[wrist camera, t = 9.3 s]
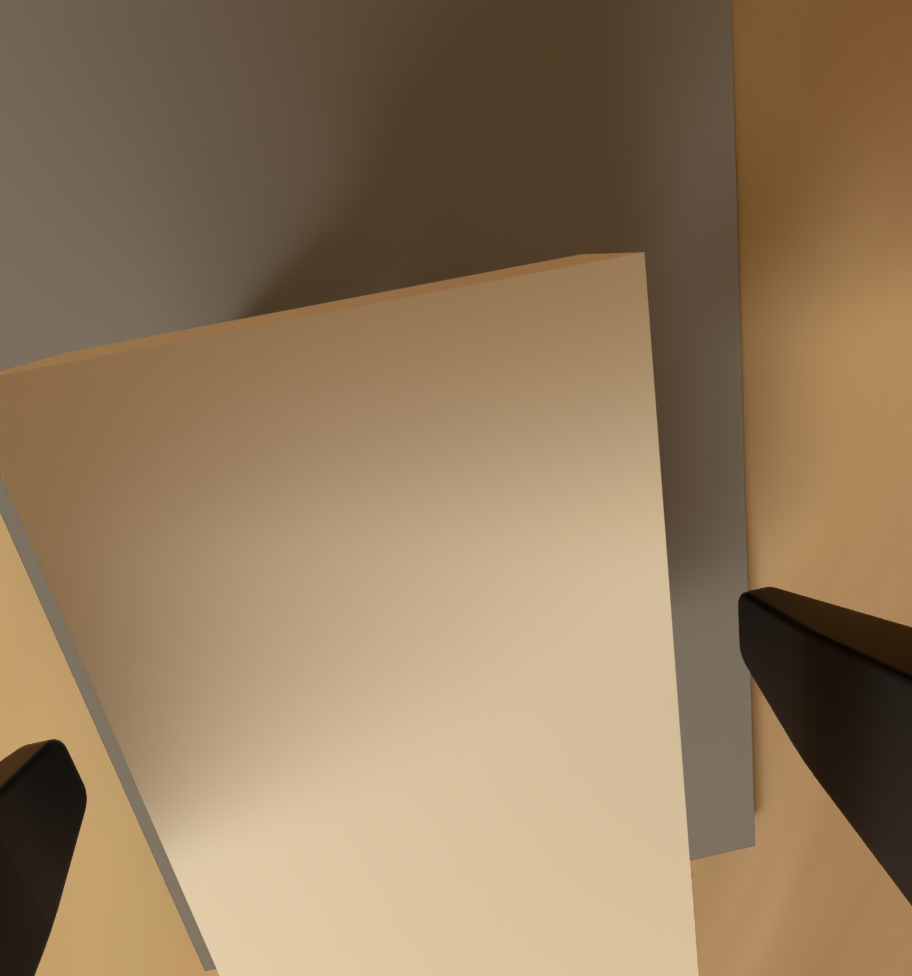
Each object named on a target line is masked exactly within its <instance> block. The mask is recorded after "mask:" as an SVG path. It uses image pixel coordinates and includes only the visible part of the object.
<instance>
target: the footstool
mask: <svg viewBox="0 0 912 976" xmlns="http://www.w3.org/2000/svg"><path fill="white" fill-rule="evenodd" d="M0 474H1V477H2V479H3V481H4V484H5V486H6V488H7V491H8V493H9V495H10V497H11V500H12V502H13V504H14V507H15V509H16V511H17V513H18V516H19V518H20V520H21V523H22V525H23V527H24V529H25V532H26V534H27V536H28V539H29V541H30V543H31V545H32V548H33V550H34V552H35V555H36V557H37V559H38V561H39V564H40V566H41V568H42V571H43V573H44V575H45V577H46V580H47V582H48V584H49V587H50V589H51V591H52V593H53V596H54V598H55V600H56V603H57V605H58V607H59V610H60V612H61V614H62V616H63V619H64V621H65V623H66V626H67V628H68V630H69V632H70V635H71V637H72V639H73V642H74V644H75V646H76V648H77V651H78V653H79V655H80V658H81V660H82V662H83V664H84V667H85V669H86V671H87V674H88V676H89V678H90V680H91V683H92V685H93V687H94V690H95V692H96V694H97V696H98V699H99V701H100V703H101V706H102V708H103V710H104V712H105V715H106V717H107V719H108V722H109V724H110V726H111V728H112V731H113V733H114V735H115V738H116V740H117V742H118V745H119V747H120V749H121V751H122V754H123V756H124V758H125V761H126V763H127V765H128V767H129V770H130V772H131V774H132V777H133V779H134V781H135V783H136V786H137V788H138V790H139V793H140V795H141V797H142V799H143V802H144V804H145V806H146V809H147V811H148V813H149V815H150V818H151V820H152V822H153V825H154V827H155V829H156V831H157V834H158V836H159V838H160V841H161V843H162V845H163V847H164V850H165V852H166V854H167V857H168V859H169V861H170V864H171V866H172V868H173V870H174V873H175V875H176V877H177V880H178V882H179V884H180V886H181V889H182V891H183V893H184V896H185V898H186V900H187V902H188V905H189V907H190V909H191V912H192V914H193V916H194V918H195V921H196V923H197V925H198V928H199V930H200V932H201V934H202V937H203V939H204V941H205V944H206V946H207V948H208V950H209V953H210V955H211V957H212V960H213V962H214V964H215V966H216V969H217V971H218V973H219V976H698V964H697V951H696V937H695V924H694V911H693V897H692V884H691V870H690V857H689V844H688V830H687V817H686V803H685V790H684V777H683V763H682V750H681V736H680V723H679V709H678V696H677V683H676V669H675V656H674V642H673V629H672V616H671V602H670V589H669V575H668V562H667V548H666V535H665V522H664V508H663V495H662V481H661V468H660V455H659V441H658V428H657V414H656V401H655V388H654V374H653V361H652V347H651V334H650V320H649V307H648V294H647V280H646V267H645V253H644V252H637V253H606V254H580V255H575V256H569V257H564V258H559V259H554V260H548V261H543V262H538V263H533V264H527V265H522V266H517V267H512V268H506V269H501V270H496V271H491V272H485V273H480V274H475V275H470V276H464V277H459V278H454V279H449V280H443V281H438V282H433V283H427V284H422V285H417V286H412V287H406V288H401V289H396V290H391V291H385V292H380V293H375V294H370V295H364V296H359V297H354V298H349V299H343V300H338V301H333V302H328V303H322V304H317V305H312V306H307V307H301V308H296V309H291V310H286V311H280V312H275V313H270V314H265V315H259V316H254V317H249V318H244V319H238V320H233V321H228V322H223V323H217V324H212V325H207V326H202V327H196V328H191V329H186V330H180V331H175V332H170V333H165V334H159V335H154V336H149V337H144V338H138V339H133V340H128V341H123V342H117V343H112V344H107V345H102V346H96V347H91V348H86V349H81V350H75V351H70V352H66V353H62V354H59V355H55V356H52V357H48V358H45V359H41V360H38V361H34V362H31V363H27V364H24V365H20V366H17V367H14V368H10V369H7V370H3V371H0Z"/></svg>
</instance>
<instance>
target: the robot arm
mask: <svg viewBox="0 0 912 976" xmlns="http://www.w3.org/2000/svg"><path fill="white" fill-rule="evenodd" d="M738 622H739V646H740V652H741V655H742V658H743V660H744V663H745V665H746V666H747V668H748V670H749V671H750V673H751V675H752V676H753V678H754V680H755V681H756V683H757V685H758V686H759V688H760V690H761V691H762V693H763V695H764V697H765V698H766V700H767V702H768V703H769V705H770V707H771V708H772V710H773V712H774V713H775V715H776V717H777V718H778V720H779V722H780V723H781V725H782V727H783V728H784V730H785V732H786V733H787V735H788V737H789V738H790V740H791V742H792V743H793V745H794V747H795V748H796V750H797V751H798V753H799V754H800V756H801V758H802V759H803V761H804V762H805V764H806V765H807V766H808V768H809V769H810V771H811V772H812V773H813V775H814V776H815V778H816V779H817V780H818V782H819V783H820V784H821V786H822V787H823V788H824V790H825V791H826V792H827V794H828V795H829V796H830V798H831V799H832V800H833V802H834V803H835V804H836V806H837V807H838V808H839V810H840V811H841V812H842V814H843V815H844V816H845V818H846V819H847V820H848V822H849V823H850V824H851V826H852V827H853V828H854V830H855V831H856V832H857V834H858V835H859V836H860V838H861V839H862V840H863V842H864V843H865V844H866V846H867V847H868V848H869V849H870V851H871V852H872V853H873V855H874V856H875V857H876V859H877V860H878V861H879V863H880V864H881V865H882V867H883V868H884V869H885V871H886V872H887V873H888V875H889V876H890V877H891V879H892V880H893V881H894V883H895V884H896V885H897V887H898V888H899V889H900V891H901V892H902V893H903V895H904V896H905V897H906V899H907V900H908V901H909V903H910V904H911V905H912V627H909V626H905V625H902V624H899V623H895V622H892V621H888V620H885V619H881V618H878V617H874V616H871V615H867V614H864V613H861V612H857V611H854V610H850V609H847V608H843V607H840V606H836V605H833V604H830V603H826V602H823V601H819V600H816V599H812V598H809V597H805V596H802V595H798V594H795V593H792V592H788V591H785V590H781V589H778V588H774V587H765V588H760V589H756V590H751V591H747V592H744V593H742V594H741V596H740V597H739V600H738ZM86 802H87V795H86V789H85V786H84V784H83V782H82V780H81V777H80V775H79V773H78V771H77V769H76V767H75V765H74V763H73V760H72V758H71V756H70V754H69V752H68V750H67V748H66V746H65V745H64V744H63V743H62V742H61V741H59V740H55V739H52V740H47V741H42V742H38V743H33V744H28V745H25V746H23V747H21V748H19V749H18V750H16V751H15V752H13V753H12V754H10V755H9V756H7V757H6V758H4V759H3V760H2V761H0V976H35V973H36V971H37V968H38V965H39V963H40V960H41V957H42V955H43V952H44V949H45V947H46V944H47V941H48V938H49V935H50V932H51V930H52V926H53V923H54V920H55V917H56V913H57V910H58V907H59V903H60V900H61V896H62V892H63V889H64V885H65V882H66V878H67V874H68V871H69V867H70V863H71V860H72V856H73V853H74V849H75V845H76V842H77V838H78V835H79V831H80V827H81V824H82V820H83V817H84V813H85V809H86Z"/></svg>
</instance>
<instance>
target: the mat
mask: <svg viewBox="0 0 912 976" xmlns="http://www.w3.org/2000/svg"><path fill="white" fill-rule="evenodd" d="M637 252H644V253H645V267H646V280H647V294H648V307H649V320H650V334H651V347H652V361H653V374H654V388H655V401H656V414H657V428H658V441H659V455H660V468H661V481H662V495H663V508H664V522H665V535H666V548H667V562H668V575H669V589H670V602H671V616H672V629H673V642H674V656H675V669H676V683H677V696H678V709H679V723H680V736H681V750H682V763H683V777H684V790H685V803H686V817H687V830H688V844H689V857H690V860H695V859H699V858H704V857H708V856H712V855H717V854H721V853H725V852H730V851H734V850H739V849H743V848H747V847H752V846H755V824H754V788H753V753H752V718H751V683H750V671H749V670H748V668H747V666H746V665H745V663H744V660H743V658H742V655H741V652H740V646H739V622H738V600H739V597H740V596H741V594H742V593H744V592H747V591H748V577H747V541H746V506H745V471H744V435H743V400H742V365H741V330H740V294H739V259H738V224H737V188H736V153H735V118H734V83H733V47H732V12H731V0H0V371H3V370H7V369H10V368H14V367H17V366H20V365H24V364H27V363H31V362H34V361H38V360H41V359H45V358H48V357H52V356H55V355H59V354H62V353H66V352H70V351H75V350H81V349H86V348H91V347H96V346H102V345H107V344H112V343H117V342H123V341H128V340H133V339H138V338H144V337H149V336H154V335H159V334H165V333H170V332H175V331H180V330H186V329H191V328H196V327H202V326H207V325H212V324H217V323H223V322H228V321H233V320H238V319H244V318H249V317H254V316H259V315H265V314H270V313H275V312H280V311H286V310H291V309H296V308H301V307H307V306H312V305H317V304H322V303H328V302H333V301H338V300H343V299H349V298H354V297H359V296H364V295H370V294H375V293H380V292H385V291H391V290H396V289H401V288H406V287H412V286H417V285H422V284H427V283H433V282H438V281H443V280H449V279H454V278H459V277H464V276H470V275H475V274H480V273H485V272H491V271H496V270H501V269H506V268H512V267H517V266H522V265H527V264H533V263H538V262H543V261H548V260H554V259H559V258H564V257H569V256H575V255H580V254H606V253H637ZM0 513H1V515H2V517H3V520H4V522H5V524H6V526H7V529H8V531H9V533H10V535H11V538H12V540H13V542H14V544H15V547H16V549H17V551H18V553H19V556H20V558H21V560H22V562H23V565H24V567H25V569H26V571H27V574H28V576H29V578H30V580H31V583H32V585H33V587H34V589H35V591H36V594H37V596H38V598H39V600H40V603H41V605H42V607H43V609H44V612H45V614H46V616H47V618H48V621H49V623H50V625H51V627H52V630H53V632H54V634H55V636H56V639H57V641H58V643H59V645H60V648H61V650H62V652H63V654H64V656H65V659H66V661H67V663H68V665H69V668H70V670H71V672H72V674H73V677H74V679H75V681H76V683H77V686H78V688H79V690H80V692H81V695H82V697H83V699H84V701H85V704H86V706H87V708H88V710H89V713H90V715H91V717H92V719H93V722H94V724H95V726H96V728H97V730H98V733H99V735H100V737H101V739H102V742H103V744H104V746H105V748H106V751H107V753H108V755H109V757H110V760H111V762H112V764H113V766H114V769H115V771H116V773H117V775H118V778H119V780H120V782H121V784H122V787H123V789H124V791H125V793H126V795H127V798H128V800H129V802H130V804H131V807H132V809H133V811H134V813H135V816H136V818H137V820H138V822H139V825H140V827H141V829H142V831H143V834H144V836H145V838H146V840H147V843H148V845H149V847H150V849H151V852H152V854H153V856H154V858H155V861H156V863H157V865H158V867H159V869H160V872H161V874H162V876H163V878H164V881H165V883H166V885H167V887H168V890H169V892H170V894H171V896H172V899H173V901H174V903H175V905H176V908H177V910H178V912H179V914H180V917H181V919H182V921H183V923H184V926H185V928H186V930H187V932H188V934H189V937H190V939H191V941H192V943H193V946H194V948H195V950H196V952H197V955H198V957H199V959H200V961H201V964H202V966H203V968H204V970H205V971H208V970H213V969H216V966H215V964H214V962H213V960H212V957H211V955H210V953H209V950H208V948H207V946H206V944H205V941H204V939H203V937H202V934H201V932H200V930H199V928H198V925H197V923H196V921H195V918H194V916H193V914H192V912H191V909H190V907H189V905H188V902H187V900H186V898H185V896H184V893H183V891H182V889H181V886H180V884H179V882H178V880H177V877H176V875H175V873H174V870H173V868H172V866H171V864H170V861H169V859H168V857H167V854H166V852H165V850H164V847H163V845H162V843H161V841H160V838H159V836H158V834H157V831H156V829H155V827H154V825H153V822H152V820H151V818H150V815H149V813H148V811H147V809H146V806H145V804H144V802H143V799H142V797H141V795H140V793H139V790H138V788H137V786H136V783H135V781H134V779H133V777H132V774H131V772H130V770H129V767H128V765H127V763H126V761H125V758H124V756H123V754H122V751H121V749H120V747H119V745H118V742H117V740H116V738H115V735H114V733H113V731H112V728H111V726H110V724H109V722H108V719H107V717H106V715H105V712H104V710H103V708H102V706H101V703H100V701H99V699H98V696H97V694H96V692H95V690H94V687H93V685H92V683H91V680H90V678H89V676H88V674H87V671H86V669H85V667H84V664H83V662H82V660H81V658H80V655H79V653H78V651H77V648H76V646H75V644H74V642H73V639H72V637H71V635H70V632H69V630H68V628H67V626H66V623H65V621H64V619H63V616H62V614H61V612H60V610H59V607H58V605H57V603H56V600H55V598H54V596H53V593H52V591H51V589H50V587H49V584H48V582H47V580H46V577H45V575H44V573H43V571H42V568H41V566H40V564H39V561H38V559H37V557H36V555H35V552H34V550H33V548H32V545H31V543H30V541H29V539H28V536H27V534H26V532H25V529H24V527H23V525H22V523H21V520H20V518H19V516H18V513H17V511H16V509H15V507H14V504H13V502H12V500H11V497H10V495H9V493H8V491H7V488H6V486H5V484H4V481H3V479H2V477H1V474H0Z"/></svg>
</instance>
